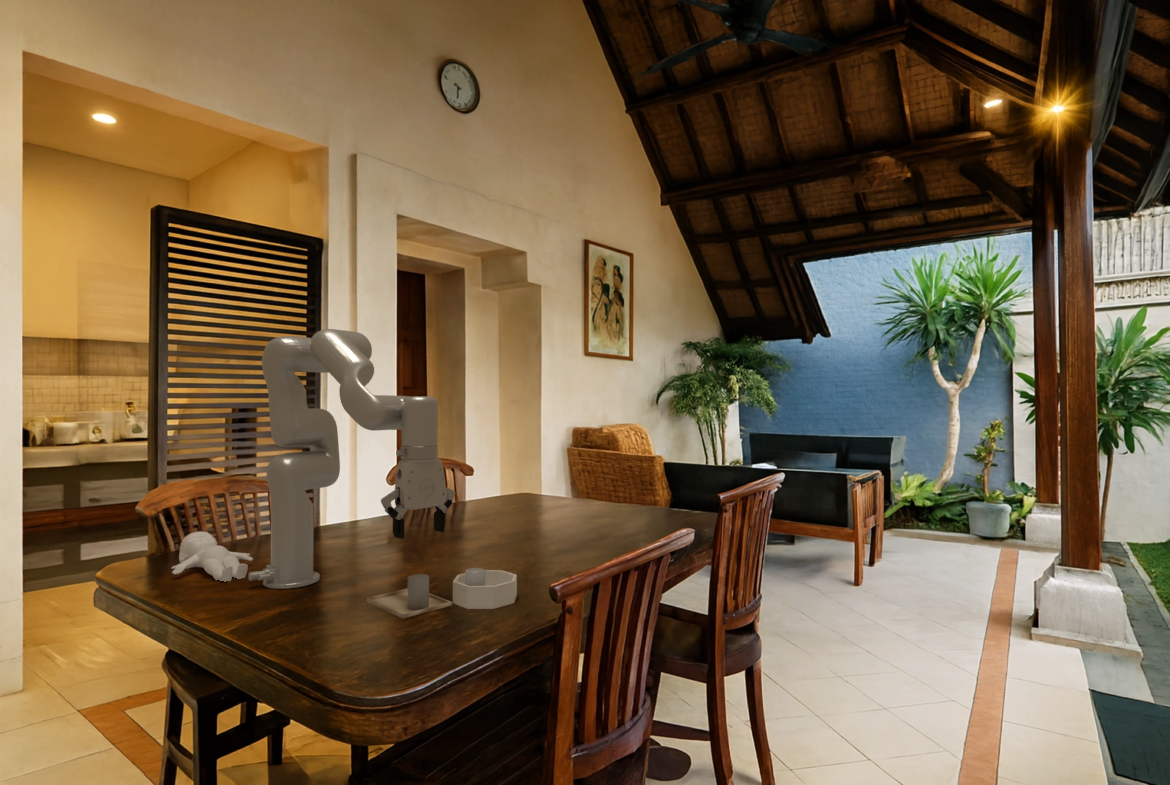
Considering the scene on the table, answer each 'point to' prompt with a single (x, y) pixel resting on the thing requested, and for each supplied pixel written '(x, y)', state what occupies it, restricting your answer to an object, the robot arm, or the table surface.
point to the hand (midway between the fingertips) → (419, 534)
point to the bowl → (486, 591)
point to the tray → (405, 603)
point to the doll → (210, 557)
